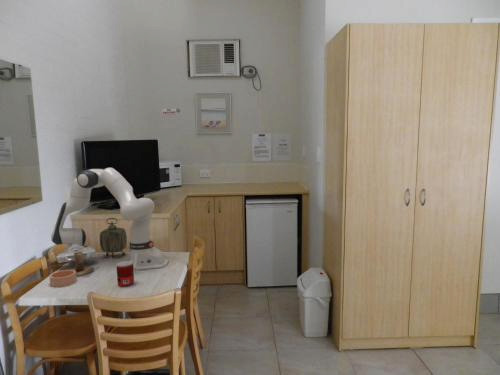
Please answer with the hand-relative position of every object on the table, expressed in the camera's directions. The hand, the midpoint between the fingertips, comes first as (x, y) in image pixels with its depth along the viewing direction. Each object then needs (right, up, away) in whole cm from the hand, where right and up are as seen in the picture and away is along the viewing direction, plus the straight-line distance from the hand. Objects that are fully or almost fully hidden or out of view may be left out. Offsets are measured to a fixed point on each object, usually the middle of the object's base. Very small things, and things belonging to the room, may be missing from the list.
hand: (78, 259), depth 203 cm
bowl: (+1, -9, -17) cm, 20 cm away
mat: (+2, -7, -3) cm, 8 cm away
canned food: (+34, -9, -20) cm, 40 cm away
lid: (+2, -7, -3) cm, 8 cm away
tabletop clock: (+10, -4, +27) cm, 29 cm away
